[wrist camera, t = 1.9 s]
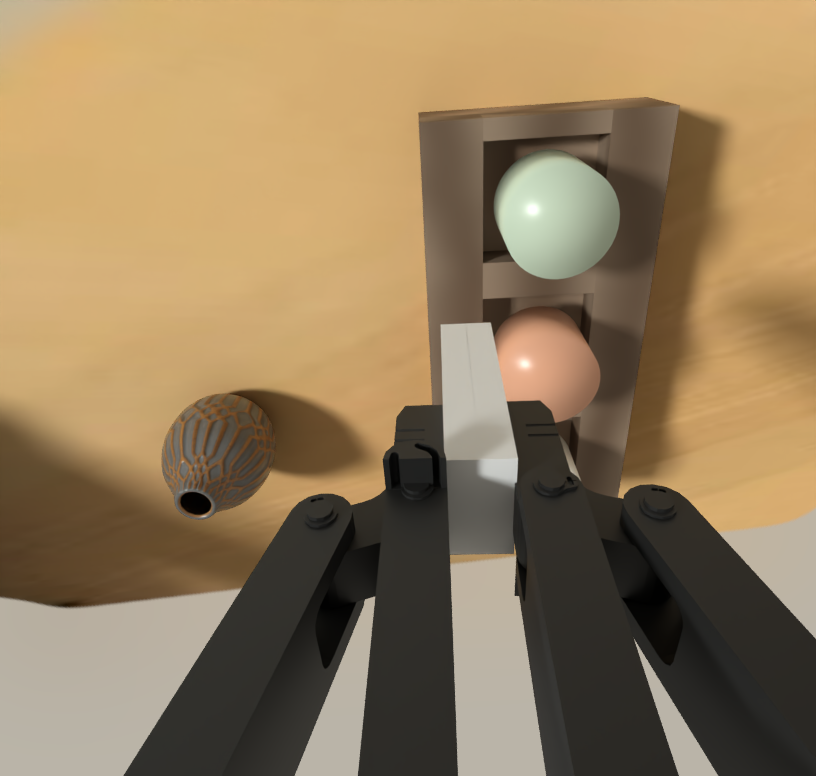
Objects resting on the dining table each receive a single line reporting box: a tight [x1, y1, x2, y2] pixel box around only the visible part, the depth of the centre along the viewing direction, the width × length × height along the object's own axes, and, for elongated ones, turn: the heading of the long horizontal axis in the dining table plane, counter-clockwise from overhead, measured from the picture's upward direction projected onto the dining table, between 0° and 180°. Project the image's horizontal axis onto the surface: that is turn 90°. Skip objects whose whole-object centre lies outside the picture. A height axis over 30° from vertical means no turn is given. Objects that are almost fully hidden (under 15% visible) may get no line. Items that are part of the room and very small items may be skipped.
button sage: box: [494, 149, 620, 279], centre depth 27 cm, size 5×5×4 cm
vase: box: [162, 394, 276, 520], centre depth 38 cm, size 7×7×9 cm
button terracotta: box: [494, 306, 600, 423], centre depth 31 cm, size 5×5×4 cm
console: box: [419, 97, 680, 498], centre depth 35 cm, size 12×24×4 cm, turn 4°
